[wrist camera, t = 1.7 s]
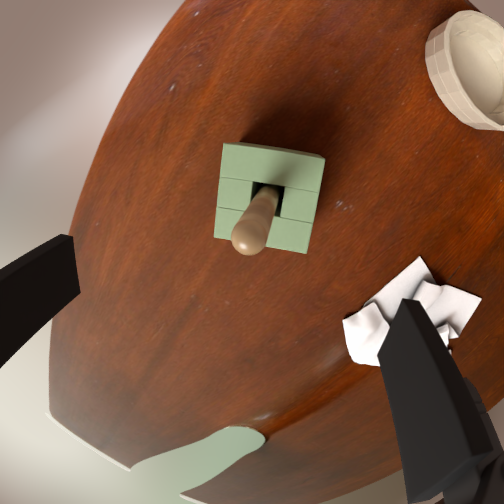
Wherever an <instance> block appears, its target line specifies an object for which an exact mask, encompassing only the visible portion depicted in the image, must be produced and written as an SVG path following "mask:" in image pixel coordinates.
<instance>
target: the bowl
mask: <svg viewBox="0 0 504 504" xmlns="http://www.w3.org/2000/svg"><path fill="white" fill-rule="evenodd" d="M425 61H426V65H427V70H428V74H429V77H430V80H431V82H432V84H433V86H434V88H435V90H436V92H437V95H438V96H439V98H440V99H441V100H442V101H443V103H444V104H445V106H446V107H447V108H448V110H449V111H450V112H451V113H453V114H454V115H455V116H456V117H457V118H458V119H459V120H461V121H462V122H463V123H465V124H467V125H469V126H471V127H473V128H475V129H484V130H498V131H504V27H503V26H502V25H500V24H499V23H498V22H497V21H495V20H493V19H492V18H491V17H489V16H487V15H486V14H483V13H480V12H476V11H473V10H467V11H459V12H457V13H455V14H454V15H452V16H451V17H450V18H448V19H447V20H445V21H444V22H442V23H441V24H439V25H438V26H437V27H436V28H434V29H433V30H432V31H431V32H430V35H429V37H428V39H427V42H426V46H425Z"/></svg>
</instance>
